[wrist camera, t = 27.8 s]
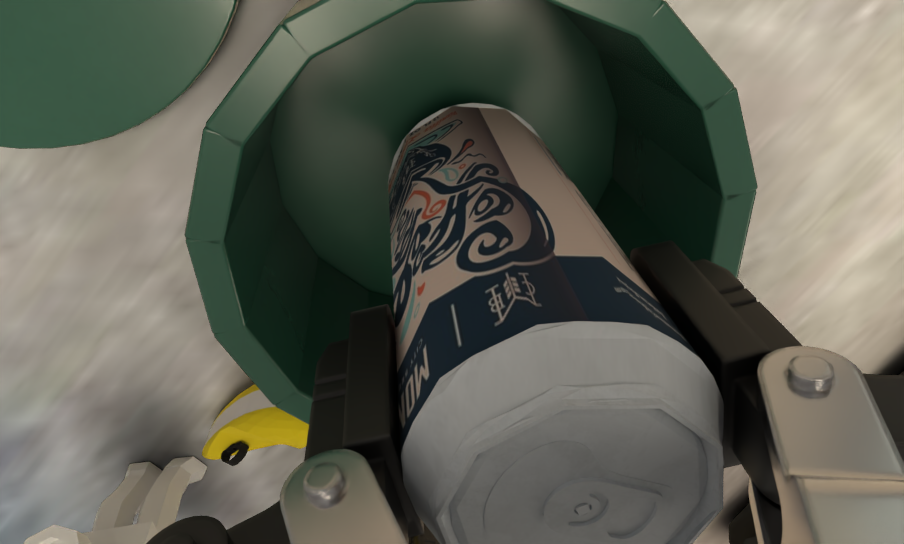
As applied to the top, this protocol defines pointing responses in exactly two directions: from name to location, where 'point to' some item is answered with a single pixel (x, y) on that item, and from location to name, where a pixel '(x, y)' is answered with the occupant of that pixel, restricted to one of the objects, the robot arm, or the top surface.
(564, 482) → the beer can
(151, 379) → the top surface
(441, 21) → the pot
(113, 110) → the lid
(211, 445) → the yellow curved piece
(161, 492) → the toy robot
